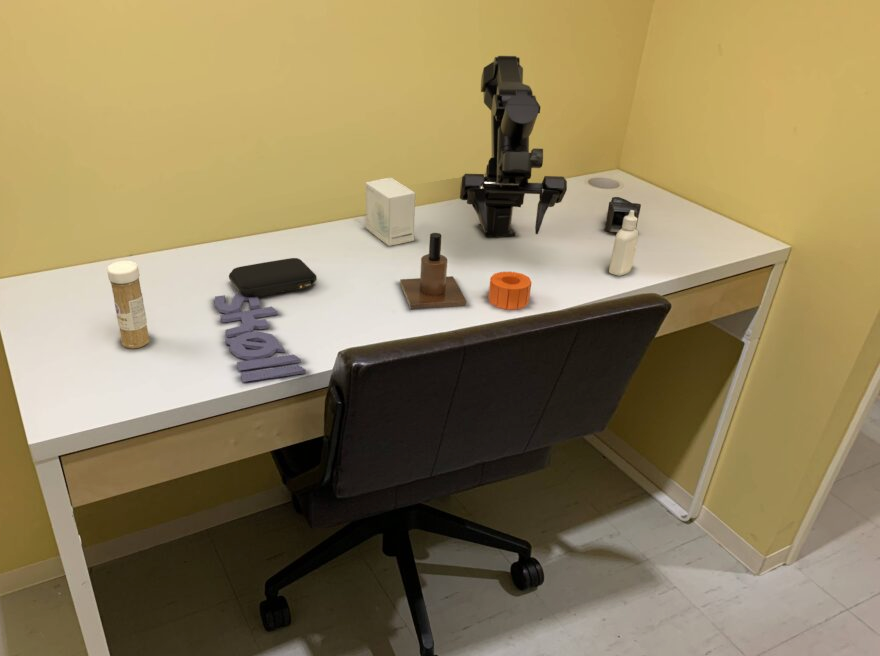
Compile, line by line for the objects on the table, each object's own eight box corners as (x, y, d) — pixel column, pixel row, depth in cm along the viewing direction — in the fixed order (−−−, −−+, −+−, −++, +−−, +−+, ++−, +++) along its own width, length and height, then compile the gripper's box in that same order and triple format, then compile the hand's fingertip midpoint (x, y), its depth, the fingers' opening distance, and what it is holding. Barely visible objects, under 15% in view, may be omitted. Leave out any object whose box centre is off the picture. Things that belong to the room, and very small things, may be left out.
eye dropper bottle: (639, 273, 146) (652, 213, 139) (614, 277, 144) (626, 216, 138) (625, 264, 149) (638, 205, 143) (600, 268, 148) (612, 208, 141)
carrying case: (244, 305, 133) (322, 290, 139) (243, 289, 132) (322, 275, 137) (226, 281, 141) (301, 268, 147) (225, 266, 140) (300, 253, 145)
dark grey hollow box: (630, 215, 171) (635, 187, 167) (636, 238, 160) (643, 208, 156) (600, 213, 172) (605, 185, 168) (604, 236, 161) (610, 206, 157)
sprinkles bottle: (115, 343, 123) (100, 266, 115) (139, 332, 126) (125, 257, 118) (132, 352, 121) (118, 275, 113) (156, 341, 123) (143, 265, 116)
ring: (480, 297, 137) (482, 276, 135) (510, 288, 140) (513, 268, 138) (506, 313, 132) (508, 292, 130) (536, 303, 135) (539, 283, 133)
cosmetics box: (364, 229, 163) (364, 180, 157) (390, 224, 166) (391, 176, 160) (387, 246, 155) (388, 197, 150) (415, 241, 158) (417, 191, 152)
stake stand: (399, 284, 141) (401, 225, 135) (452, 280, 143) (456, 222, 136) (410, 309, 133) (413, 248, 127) (466, 305, 134) (471, 244, 128)
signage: (211, 296, 135) (266, 288, 138) (211, 299, 135) (267, 292, 138) (239, 380, 113) (305, 369, 115) (240, 384, 113) (305, 373, 116)
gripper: (465, 128, 134) (462, 212, 131) (573, 131, 133) (573, 215, 130) (461, 159, 145) (458, 237, 142) (560, 162, 143) (560, 240, 141)
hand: (511, 232), depth 138 cm, fingers open, 9 cm apart
